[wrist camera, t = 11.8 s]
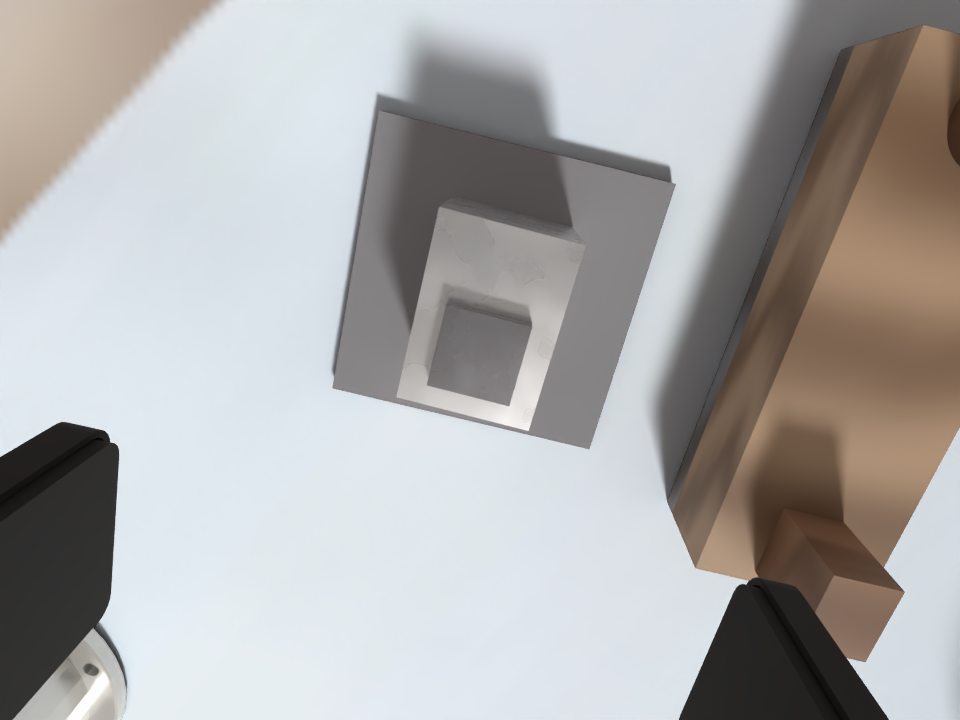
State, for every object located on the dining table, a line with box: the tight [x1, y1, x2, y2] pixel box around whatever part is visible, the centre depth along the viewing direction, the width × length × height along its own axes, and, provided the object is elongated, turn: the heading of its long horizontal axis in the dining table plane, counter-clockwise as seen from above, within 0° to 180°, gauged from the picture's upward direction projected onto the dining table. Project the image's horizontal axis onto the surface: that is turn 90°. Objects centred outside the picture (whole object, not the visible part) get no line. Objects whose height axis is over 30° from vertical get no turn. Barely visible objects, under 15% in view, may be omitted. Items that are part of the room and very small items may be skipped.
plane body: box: [667, 25, 960, 662], centre depth 22 cm, size 20×7×9 cm, turn 167°
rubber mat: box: [333, 111, 676, 449], centre depth 27 cm, size 12×12×1 cm
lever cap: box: [396, 196, 586, 431], centre depth 24 cm, size 7×5×6 cm
